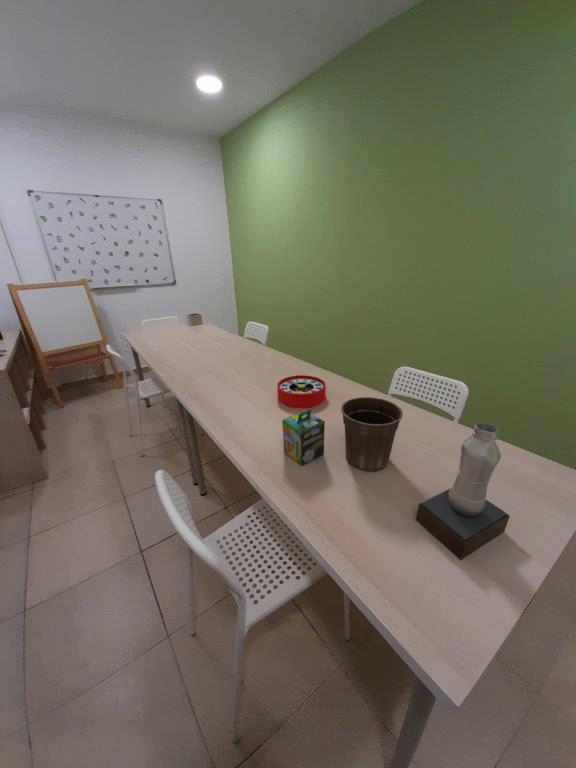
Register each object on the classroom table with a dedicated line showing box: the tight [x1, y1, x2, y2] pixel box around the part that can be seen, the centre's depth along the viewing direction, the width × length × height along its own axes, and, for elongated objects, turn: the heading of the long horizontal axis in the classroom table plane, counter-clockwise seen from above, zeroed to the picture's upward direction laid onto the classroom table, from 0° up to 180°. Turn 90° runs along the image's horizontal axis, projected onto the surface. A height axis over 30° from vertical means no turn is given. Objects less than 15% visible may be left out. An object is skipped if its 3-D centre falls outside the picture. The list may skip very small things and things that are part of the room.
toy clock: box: [277, 374, 327, 409], centre depth 125 cm, size 20×6×20 cm
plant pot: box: [340, 396, 404, 472], centre depth 85 cm, size 16×16×16 cm
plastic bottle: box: [449, 422, 502, 516], centre depth 59 cm, size 6×7×20 cm
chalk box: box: [281, 408, 326, 466], centre depth 88 cm, size 9×9×15 cm
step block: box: [415, 488, 511, 561], centre depth 64 cm, size 14×11×5 cm
